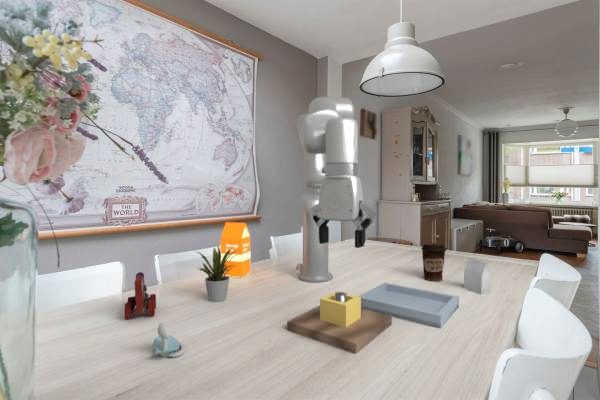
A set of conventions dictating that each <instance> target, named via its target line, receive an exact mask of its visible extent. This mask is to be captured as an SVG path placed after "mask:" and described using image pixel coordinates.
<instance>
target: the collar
mask: <svg viewBox="0 0 600 400" xmlns="http://www.w3.org/2000/svg"><path fill="white" fill-rule="evenodd" d="M337 292H338V291H334V292H332V293H330V294H328V295H326V296H324V297H321V298H319V306H320V320H322V321H326V322H329V323H332V324H336V325H339V326H342V327H348V326H349V325H351V324H352V323H354V322H355V321H357V320H358V319H360V318H361V297H358V296H357V295H352V294H348V293H346V302H345V303H343V302H339V301H335V293H337Z"/></svg>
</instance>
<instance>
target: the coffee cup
mask: <svg viewBox="0 0 600 400" xmlns="http://www.w3.org/2000/svg"><path fill="white" fill-rule="evenodd" d="M446 251H447V248H446V246H445V245H444V244H443V243H437V242H429V243H428V242H427V243H423V245H422V247H421V252H422V267H423V268H422V269H423V279H424V280H427V281H432V282H440V281H441V282H442V281H443V280H444V279H443V269H444V265H445V254H446Z"/></svg>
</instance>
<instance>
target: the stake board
mask: <svg viewBox="0 0 600 400" xmlns="http://www.w3.org/2000/svg"><path fill="white" fill-rule="evenodd" d="M392 320H393V317H392V316H388V315H384V314H380V313H376V312H372V311H368V310H364V309H361V318H360V319H358V320H357V321H355V322H354V323H352V324H351V325H349V326H348V327H342V326H339V325H336V324H332V323H329V322H326V321H322V320H320V305H318V306H316V307H313V308H311V309H310V310H308V311H305V312H304V313H301V314H299V315H298V316H297V315H296V316H295V317H294V318H291V319H289V320H287V321H286V330H287V331H290V332H292V333H295V334H298V335H301V336H304V337H306V338H309V339H311V340H316V341H319V342H320V343H324V344H327V345H329V346H333V347H335V348H338V349H341V350H344V351H347V352H349V353H353V354H357V353H359V352H360V351H361V350H362V349H364V348H365V347H366V346H367V345H369V344H370V343H371V342H372V341H374V340H375V339H376V338H377V337H378V336H379V335H381V334H383V332H384V331H387V329H388V328H389V327H391V326H392V324H393V323H392V322H393V321H392Z"/></svg>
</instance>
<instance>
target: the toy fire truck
mask: <svg viewBox="0 0 600 400" xmlns="http://www.w3.org/2000/svg"><path fill="white" fill-rule="evenodd" d="M147 291H148V287H147V285H146V284H145V274H144V272H140V271H139V272H137V273H136V274H135V280H134V296H128V297H127V302H125V303H124V309H123V310H124V315H123V316H124V319H125V320H131V319H132V318H133V313H135V314H136V316H139V315H143V314H144V313H145V312H147V316H148V317H154V316H155V314H156V309H157V294H156V293H150V294H149V293H148V292H147Z"/></svg>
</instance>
